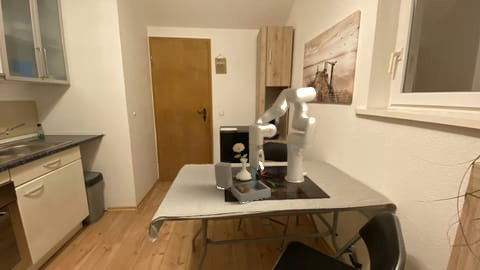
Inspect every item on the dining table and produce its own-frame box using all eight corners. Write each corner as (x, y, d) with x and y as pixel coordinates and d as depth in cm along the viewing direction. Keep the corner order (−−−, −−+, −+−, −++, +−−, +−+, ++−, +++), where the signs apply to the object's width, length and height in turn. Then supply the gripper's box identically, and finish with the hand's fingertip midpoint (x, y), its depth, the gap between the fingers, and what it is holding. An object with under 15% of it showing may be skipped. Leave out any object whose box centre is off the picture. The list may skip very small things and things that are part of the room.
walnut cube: (246, 192, 121) (245, 184, 120) (250, 196, 116) (249, 187, 115) (238, 194, 119) (237, 185, 118) (241, 197, 114) (241, 189, 113)
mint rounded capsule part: (257, 177, 122) (257, 166, 121) (262, 180, 118) (262, 168, 117) (250, 179, 120) (249, 167, 119) (253, 182, 116) (253, 169, 115)
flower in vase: (252, 176, 149) (252, 141, 145) (252, 182, 138) (251, 144, 134) (234, 175, 151) (233, 141, 147) (232, 181, 139) (231, 144, 135)
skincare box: (233, 187, 130) (232, 162, 128) (226, 192, 124) (225, 166, 122) (221, 185, 135) (220, 161, 132) (215, 189, 129) (213, 164, 126)
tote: (258, 187, 129) (258, 180, 128) (270, 197, 116) (270, 188, 115) (230, 193, 122) (230, 185, 121) (240, 204, 109) (240, 195, 108)
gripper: (270, 149, 110) (269, 182, 113) (254, 143, 125) (254, 173, 128) (257, 150, 107) (257, 185, 110) (243, 144, 122) (243, 175, 125)
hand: (256, 178), depth 119 cm, fingers closed on mint rounded capsule part, 4 cm apart
